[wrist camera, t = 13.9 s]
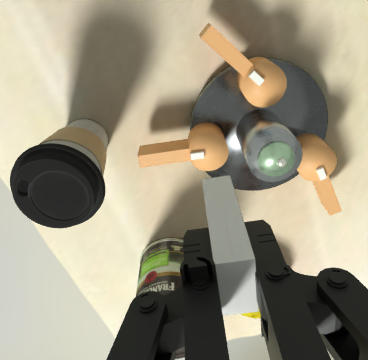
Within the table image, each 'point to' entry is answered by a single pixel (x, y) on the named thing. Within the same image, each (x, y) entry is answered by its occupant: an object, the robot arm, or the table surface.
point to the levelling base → (235, 105)
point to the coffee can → (162, 270)
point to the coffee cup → (62, 176)
